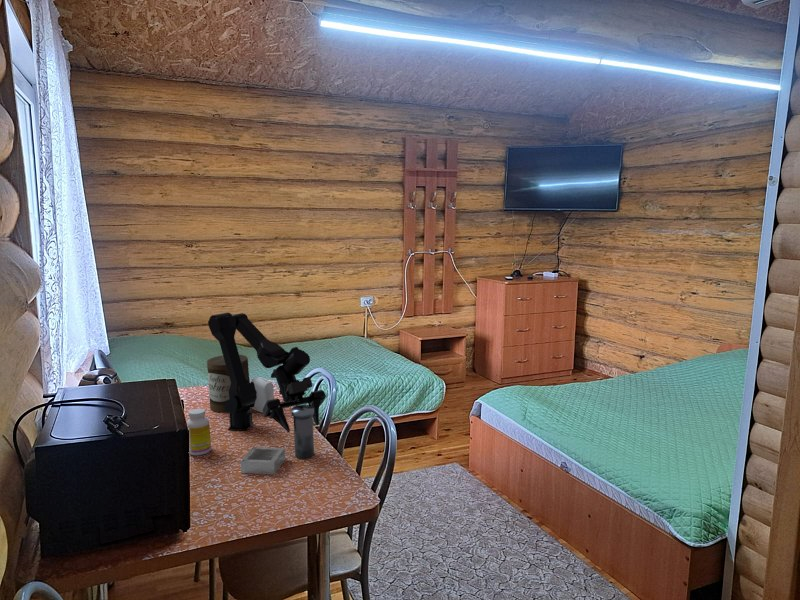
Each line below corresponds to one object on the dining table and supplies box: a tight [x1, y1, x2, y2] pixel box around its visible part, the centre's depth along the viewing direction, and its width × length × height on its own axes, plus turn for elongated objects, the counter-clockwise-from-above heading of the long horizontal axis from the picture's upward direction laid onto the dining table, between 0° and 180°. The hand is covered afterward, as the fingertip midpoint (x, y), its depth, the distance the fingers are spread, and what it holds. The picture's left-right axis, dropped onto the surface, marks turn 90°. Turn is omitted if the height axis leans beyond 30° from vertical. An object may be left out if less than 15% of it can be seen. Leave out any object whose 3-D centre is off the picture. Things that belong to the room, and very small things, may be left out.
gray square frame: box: [240, 446, 286, 475], centre depth 161 cm, size 10×10×4 cm
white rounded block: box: [250, 376, 275, 414], centre depth 205 cm, size 10×4×12 cm, turn 48°
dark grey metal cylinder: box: [290, 404, 315, 460], centre depth 167 cm, size 7×7×14 cm
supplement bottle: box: [186, 408, 212, 456], centre depth 171 cm, size 7×7×13 cm
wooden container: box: [206, 352, 251, 413], centre depth 210 cm, size 15×15×22 cm
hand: (303, 428), depth 167 cm, fingers open, 9 cm apart
